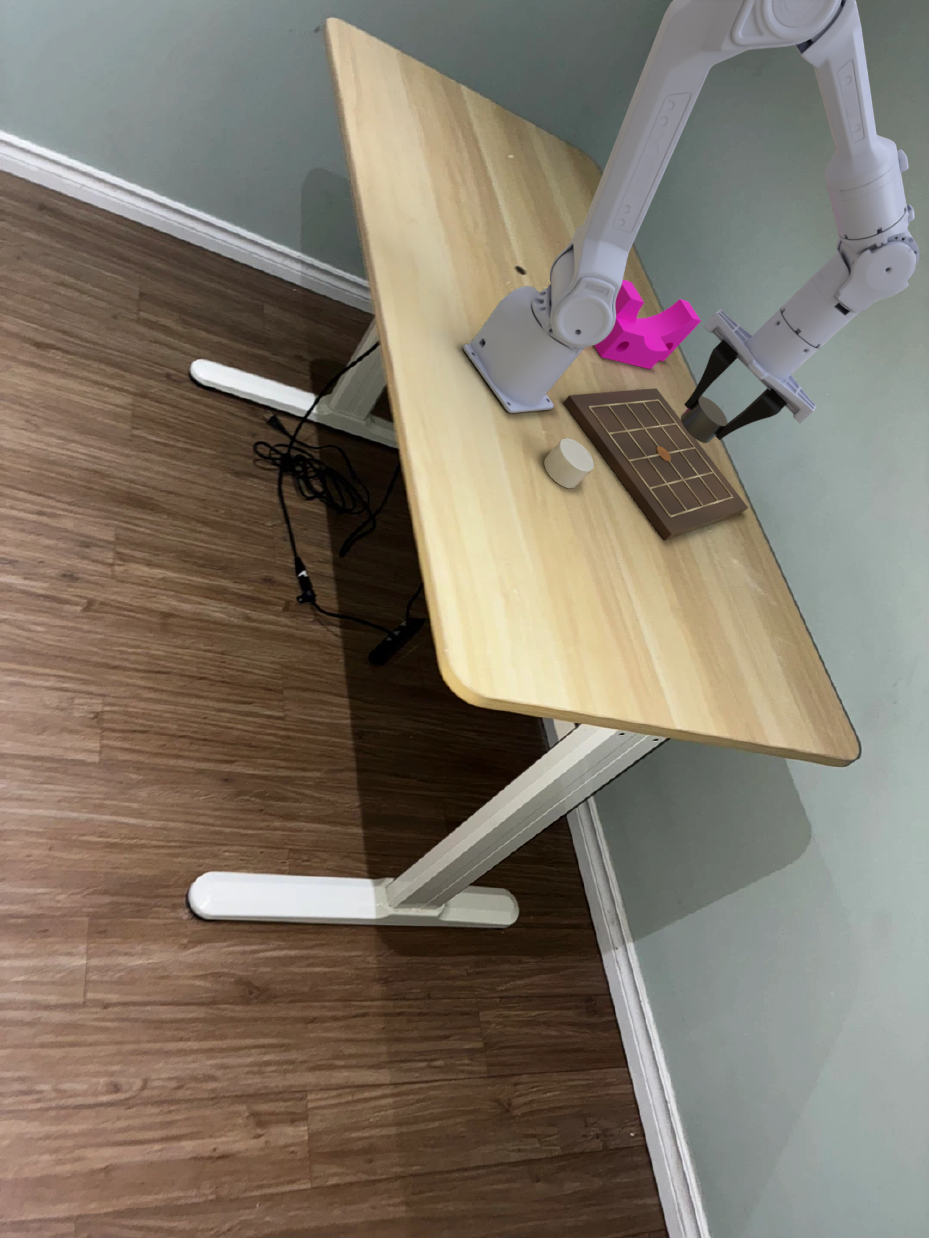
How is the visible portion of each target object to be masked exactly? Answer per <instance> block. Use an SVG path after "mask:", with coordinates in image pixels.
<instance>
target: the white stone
mask: <svg viewBox="0 0 929 1238" xmlns="http://www.w3.org/2000/svg"><path fill="white" fill-rule="evenodd" d="M543 465H544V468H545V471H546V473H547V474H548V476H550V478H551V480H552V481H554V482H555V483H557V485H559V486H561V487H564V488H566V489H574V488H576V487H577V486H578V485H579V484H580V483H581V482H582V481H583V480H584V479H585V478H586V477H587V476H588V475H589V474H590V473H591V472H592V470H593V469H594V467H595V463H594V459H593V457H592V455H591V453H590V452H589V451H588V449H587V448H586V447H584V445H583V444H582V443H580V442H579V441H577V440H575V439H573V438H570V437H565V438H562V439H561V440H560V441H559V442H558V443H557V444H556V445H555V446H554V447H553V449H552V450H551V451H550V452H549V453H548V454H547V455H546V456H545V458H544V460H543Z"/></svg>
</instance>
